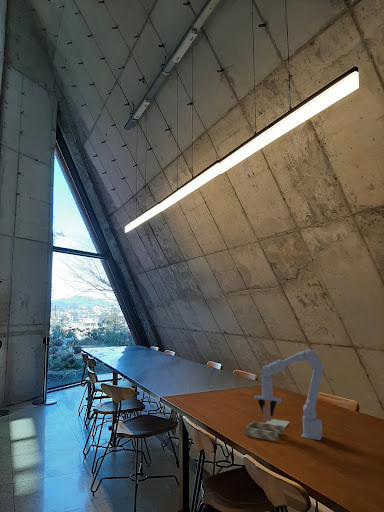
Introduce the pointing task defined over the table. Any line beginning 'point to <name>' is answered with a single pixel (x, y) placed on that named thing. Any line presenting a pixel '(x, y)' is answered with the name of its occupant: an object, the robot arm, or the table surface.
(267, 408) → the terracotta block
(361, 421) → the table surface
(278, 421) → the mat
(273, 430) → the slot housing
